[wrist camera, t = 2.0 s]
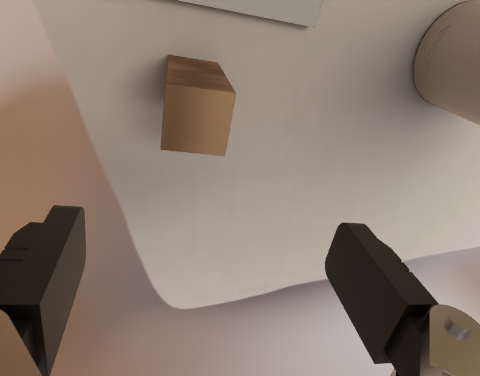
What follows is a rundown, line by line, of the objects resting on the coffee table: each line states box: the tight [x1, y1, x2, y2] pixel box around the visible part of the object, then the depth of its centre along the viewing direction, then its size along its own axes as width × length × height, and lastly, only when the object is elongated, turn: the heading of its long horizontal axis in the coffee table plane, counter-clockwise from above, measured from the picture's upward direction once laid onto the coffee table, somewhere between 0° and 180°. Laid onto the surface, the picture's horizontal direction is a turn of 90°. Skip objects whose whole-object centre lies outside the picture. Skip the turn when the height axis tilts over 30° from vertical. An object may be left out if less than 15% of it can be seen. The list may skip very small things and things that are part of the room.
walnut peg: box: [161, 55, 236, 156], centre depth 25 cm, size 4×4×10 cm
